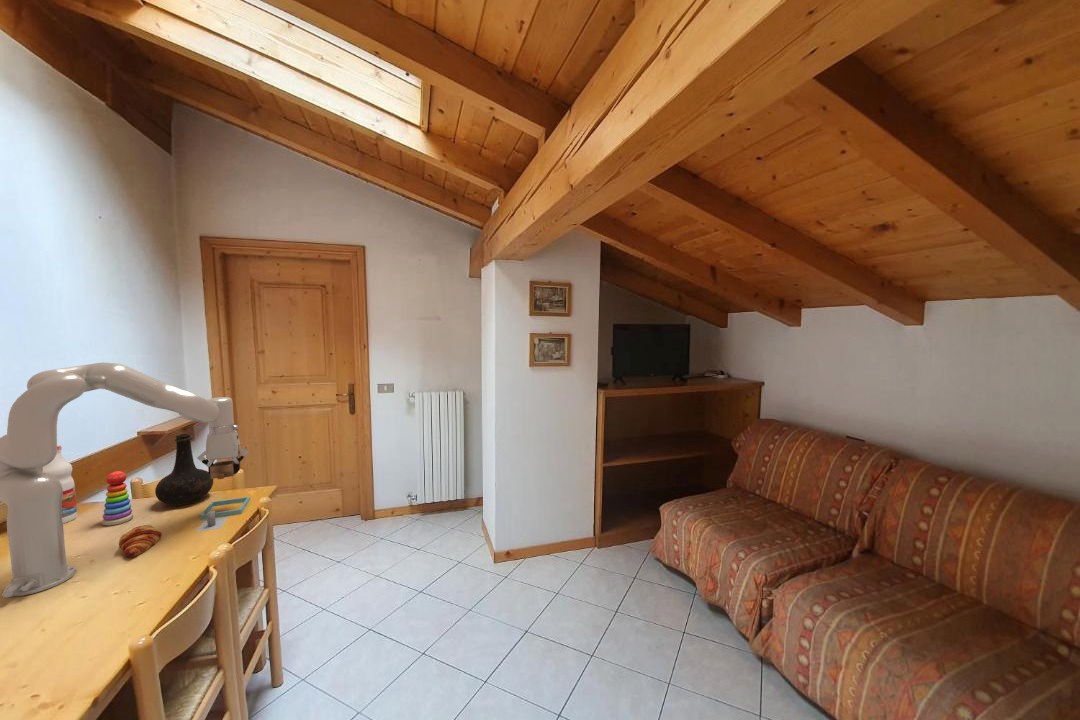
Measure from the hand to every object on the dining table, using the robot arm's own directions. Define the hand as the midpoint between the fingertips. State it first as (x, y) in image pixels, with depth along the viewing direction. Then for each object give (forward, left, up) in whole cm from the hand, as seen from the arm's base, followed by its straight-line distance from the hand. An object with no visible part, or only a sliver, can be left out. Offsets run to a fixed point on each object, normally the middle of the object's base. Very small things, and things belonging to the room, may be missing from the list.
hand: (224, 473), depth 155 cm
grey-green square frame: (0, 0, -15) cm, 15 cm away
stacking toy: (+5, +34, -15) cm, 38 cm away
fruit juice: (+13, +54, -15) cm, 58 cm away
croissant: (-19, +18, -15) cm, 30 cm away
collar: (0, 0, 0) cm, 0 cm away
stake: (-13, +1, -15) cm, 20 cm away
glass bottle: (+17, +18, -15) cm, 29 cm away
